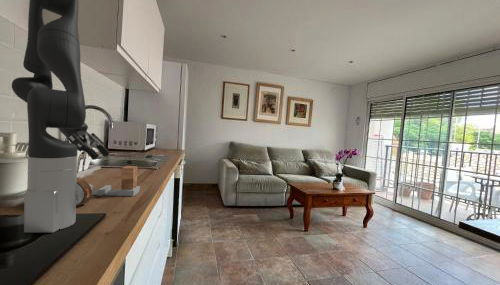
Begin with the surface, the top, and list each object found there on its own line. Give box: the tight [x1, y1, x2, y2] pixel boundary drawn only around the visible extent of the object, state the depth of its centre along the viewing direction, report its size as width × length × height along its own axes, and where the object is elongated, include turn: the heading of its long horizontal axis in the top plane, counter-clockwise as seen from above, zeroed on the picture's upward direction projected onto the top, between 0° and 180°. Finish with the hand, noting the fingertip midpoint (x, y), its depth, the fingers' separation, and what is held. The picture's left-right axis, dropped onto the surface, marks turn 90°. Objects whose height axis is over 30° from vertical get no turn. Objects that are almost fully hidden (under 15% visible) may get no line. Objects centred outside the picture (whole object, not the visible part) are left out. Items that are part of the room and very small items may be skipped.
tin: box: [76, 177, 93, 207], centre depth 73 cm, size 15×3×8 cm, turn 84°
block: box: [120, 165, 138, 190], centre depth 88 cm, size 4×4×8 cm
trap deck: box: [89, 184, 141, 197], centre depth 87 cm, size 7×22×2 cm, turn 99°
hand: (102, 156), depth 86 cm, fingers open, 8 cm apart
